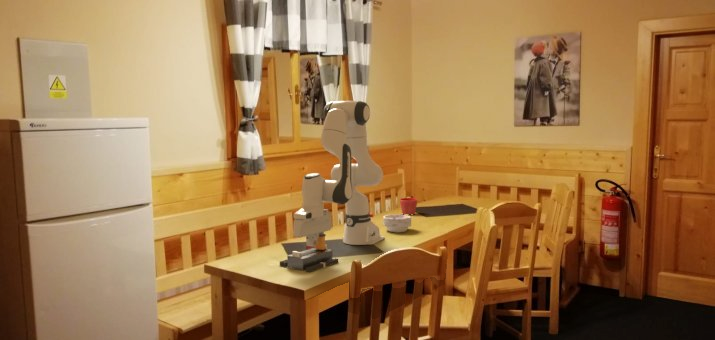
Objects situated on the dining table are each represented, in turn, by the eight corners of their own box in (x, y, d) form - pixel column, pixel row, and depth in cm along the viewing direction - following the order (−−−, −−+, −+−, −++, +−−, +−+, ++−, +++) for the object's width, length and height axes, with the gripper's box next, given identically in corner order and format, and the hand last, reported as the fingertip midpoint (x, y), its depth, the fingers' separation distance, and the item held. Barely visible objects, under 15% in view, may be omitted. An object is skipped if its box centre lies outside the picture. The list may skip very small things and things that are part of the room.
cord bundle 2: (334, 261, 234) (334, 257, 234) (338, 262, 233) (338, 258, 233) (305, 271, 221) (305, 267, 220) (309, 272, 219) (309, 268, 219)
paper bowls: (404, 226, 305) (404, 212, 304) (415, 232, 290) (415, 217, 289) (379, 229, 300) (379, 214, 299) (389, 234, 286) (389, 219, 285)
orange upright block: (317, 247, 238) (317, 232, 237) (325, 249, 235) (325, 234, 234) (314, 248, 236) (313, 233, 235) (322, 250, 233) (322, 235, 232)
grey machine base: (317, 258, 241) (316, 242, 240) (332, 261, 235) (332, 245, 235) (287, 267, 227) (287, 250, 226) (303, 271, 221) (302, 254, 221)
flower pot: (412, 216, 334) (412, 201, 333) (396, 215, 340) (396, 199, 339) (420, 213, 343) (420, 198, 342) (404, 212, 349) (404, 197, 348)
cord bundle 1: (309, 256, 244) (309, 252, 244) (315, 257, 242) (315, 253, 241) (279, 265, 230) (279, 261, 230) (285, 266, 228) (285, 262, 228)
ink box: (314, 252, 250) (314, 227, 249) (305, 251, 253) (305, 226, 252) (324, 248, 258) (324, 223, 257) (315, 247, 260) (315, 223, 259)
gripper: (323, 207, 240) (324, 238, 242) (290, 214, 225) (291, 247, 226) (334, 209, 237) (335, 240, 238) (301, 216, 221) (302, 249, 222)
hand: (313, 244), depth 232 cm, fingers closed
